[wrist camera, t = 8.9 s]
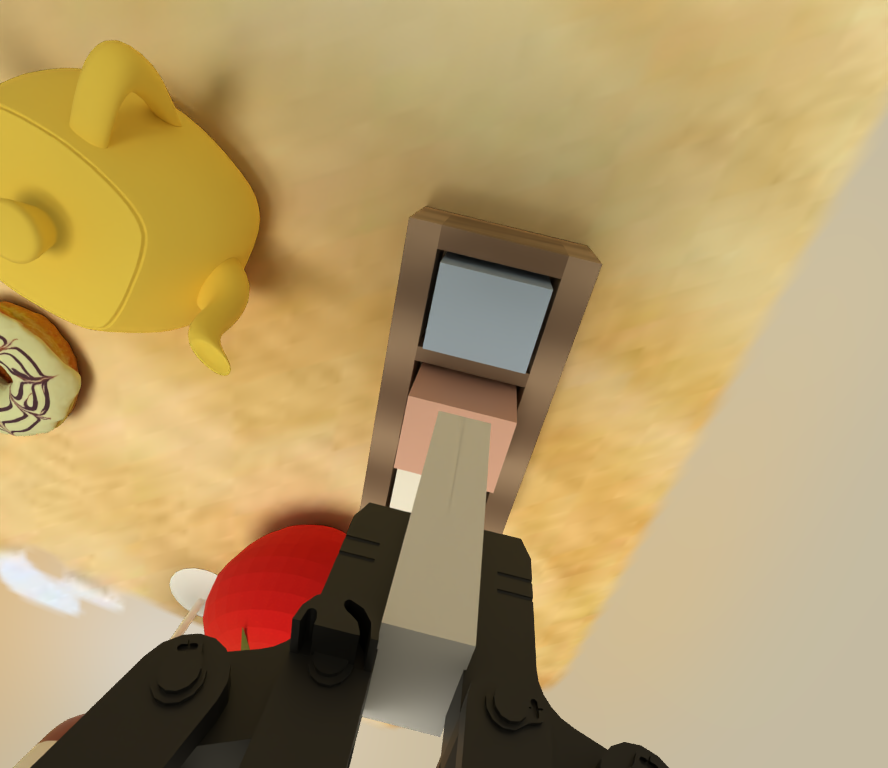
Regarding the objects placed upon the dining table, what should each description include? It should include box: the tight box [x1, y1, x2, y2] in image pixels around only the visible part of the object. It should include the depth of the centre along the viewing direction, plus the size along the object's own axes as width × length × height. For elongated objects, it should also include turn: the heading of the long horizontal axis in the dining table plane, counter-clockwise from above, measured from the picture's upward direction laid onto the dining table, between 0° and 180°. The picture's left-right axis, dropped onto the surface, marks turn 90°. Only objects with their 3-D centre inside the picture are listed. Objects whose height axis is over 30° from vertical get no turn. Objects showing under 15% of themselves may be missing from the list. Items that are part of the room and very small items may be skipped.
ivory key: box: [390, 469, 487, 513], centre depth 33 cm, size 5×6×5 cm
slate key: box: [423, 251, 553, 374], centre depth 27 cm, size 5×6×5 cm
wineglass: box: [13, 568, 218, 768], centre depth 39 cm, size 8×9×20 cm
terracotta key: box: [394, 362, 517, 493], centre depth 28 cm, size 5×6×5 cm
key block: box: [360, 206, 602, 534], centre depth 31 cm, size 21×10×5 cm, turn 168°
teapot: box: [0, 40, 260, 376], centre depth 25 cm, size 22×16×11 cm
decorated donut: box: [0, 301, 81, 436], centre depth 36 cm, size 10×11×4 cm
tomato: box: [203, 525, 346, 652], centre depth 38 cm, size 12×14×12 cm
